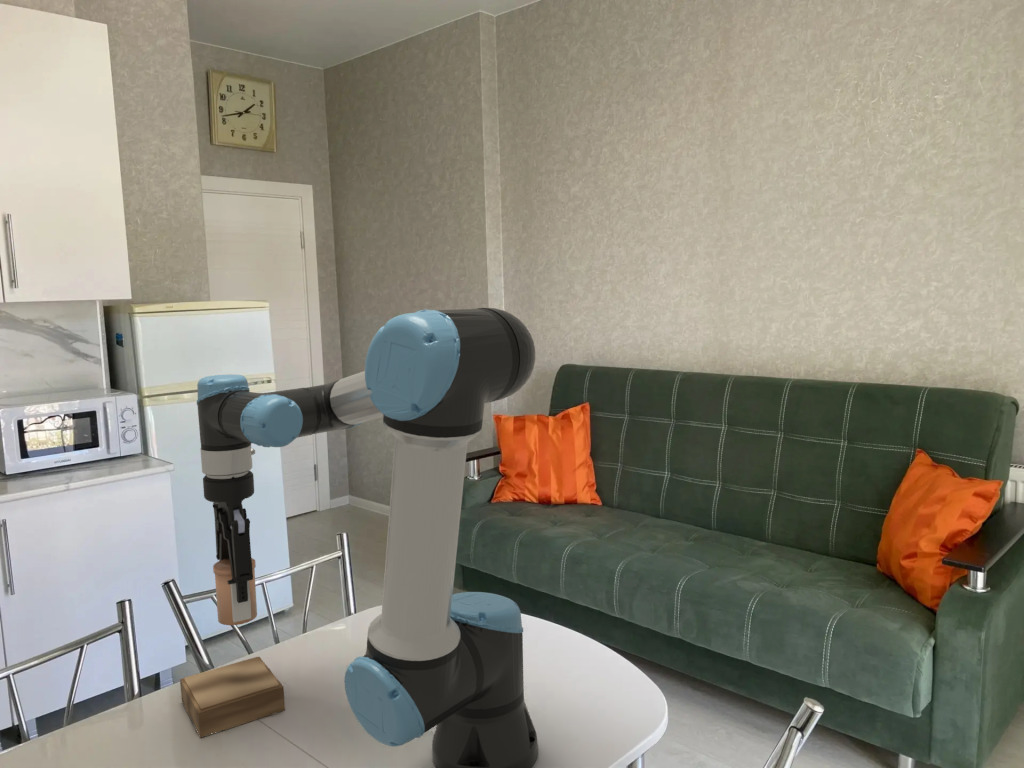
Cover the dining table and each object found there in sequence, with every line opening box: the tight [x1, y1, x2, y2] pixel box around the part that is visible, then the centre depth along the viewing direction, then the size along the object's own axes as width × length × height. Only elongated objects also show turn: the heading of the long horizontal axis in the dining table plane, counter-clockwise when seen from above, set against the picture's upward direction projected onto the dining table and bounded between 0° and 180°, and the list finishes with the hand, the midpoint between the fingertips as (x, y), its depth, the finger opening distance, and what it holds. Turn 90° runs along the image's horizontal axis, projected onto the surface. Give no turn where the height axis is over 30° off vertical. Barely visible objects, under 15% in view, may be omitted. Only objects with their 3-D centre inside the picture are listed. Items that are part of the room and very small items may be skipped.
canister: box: [212, 557, 258, 626], centre depth 125 cm, size 6×6×9 cm
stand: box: [179, 656, 286, 738], centre depth 126 cm, size 13×13×4 cm
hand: (236, 611), depth 125 cm, fingers closed on canister, 6 cm apart
